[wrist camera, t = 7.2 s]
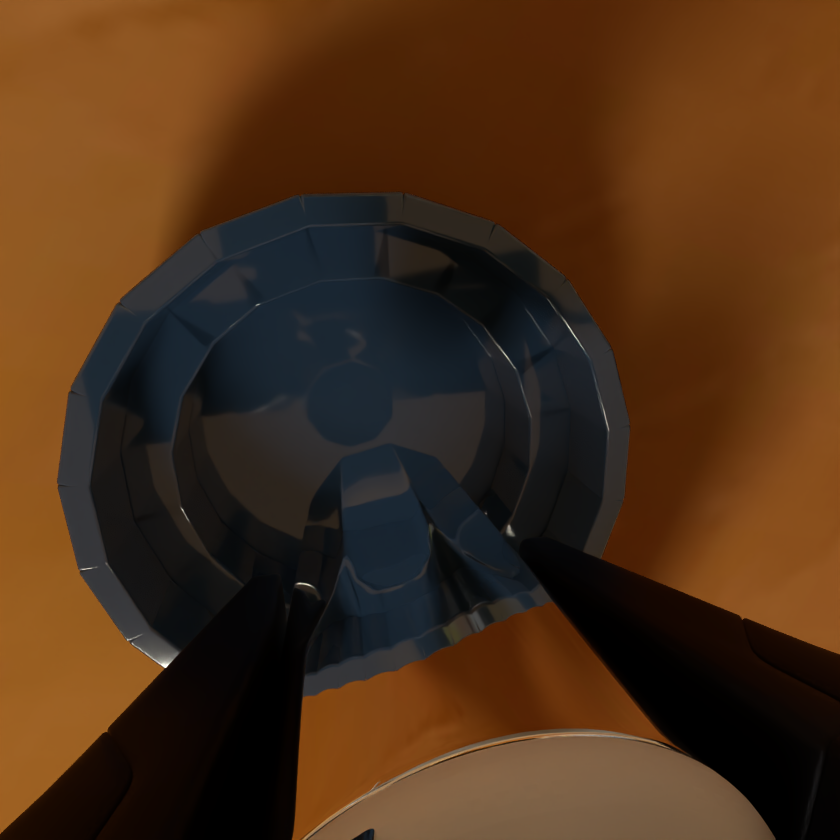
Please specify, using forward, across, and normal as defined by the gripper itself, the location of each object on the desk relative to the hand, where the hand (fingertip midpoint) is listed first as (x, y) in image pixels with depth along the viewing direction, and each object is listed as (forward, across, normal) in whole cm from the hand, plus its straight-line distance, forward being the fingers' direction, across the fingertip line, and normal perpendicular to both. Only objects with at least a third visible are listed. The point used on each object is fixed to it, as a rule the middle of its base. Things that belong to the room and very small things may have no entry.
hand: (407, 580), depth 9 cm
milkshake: (+3, 0, 0) cm, 3 cm away
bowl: (+8, 0, 0) cm, 8 cm away
